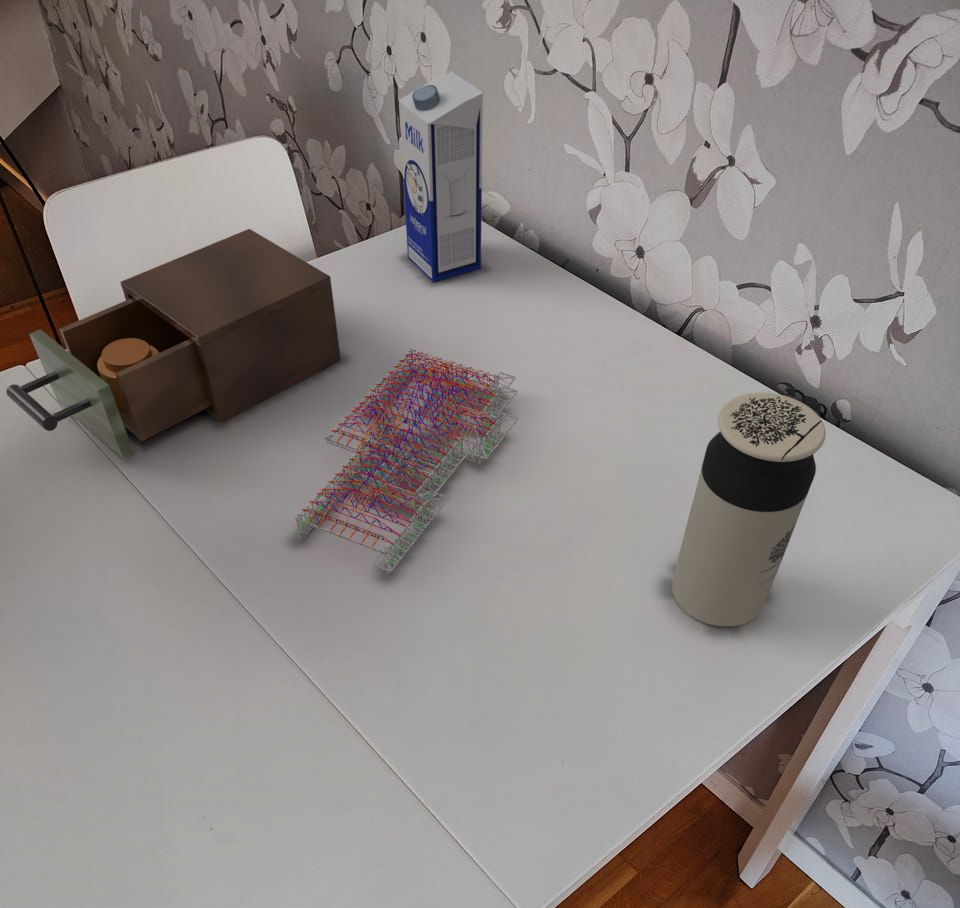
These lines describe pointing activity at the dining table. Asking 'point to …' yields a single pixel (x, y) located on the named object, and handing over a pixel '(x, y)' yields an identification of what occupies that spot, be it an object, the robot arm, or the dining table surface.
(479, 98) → the milk carton
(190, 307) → the cabinet
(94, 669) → the dining table surface
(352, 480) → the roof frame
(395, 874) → the dining table surface
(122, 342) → the small lidded canister
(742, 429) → the travel mug
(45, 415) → the drawer
